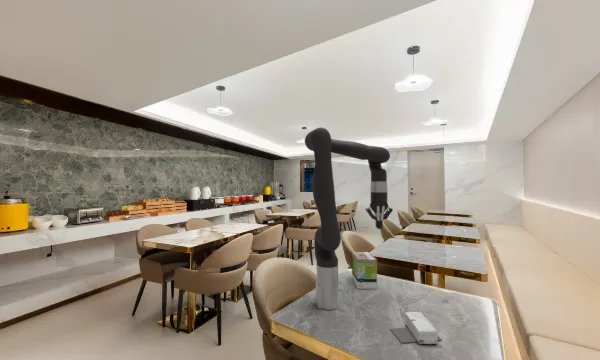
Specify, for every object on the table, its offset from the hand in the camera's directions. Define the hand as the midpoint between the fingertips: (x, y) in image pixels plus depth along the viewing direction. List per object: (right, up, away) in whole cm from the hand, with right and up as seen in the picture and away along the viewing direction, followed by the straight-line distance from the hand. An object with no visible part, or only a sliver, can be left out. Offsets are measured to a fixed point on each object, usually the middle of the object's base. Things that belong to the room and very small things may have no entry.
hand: (379, 228), depth 119 cm
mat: (+3, -31, -31) cm, 44 cm away
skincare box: (+5, -28, -25) cm, 38 cm away
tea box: (-4, -32, +14) cm, 35 cm away
